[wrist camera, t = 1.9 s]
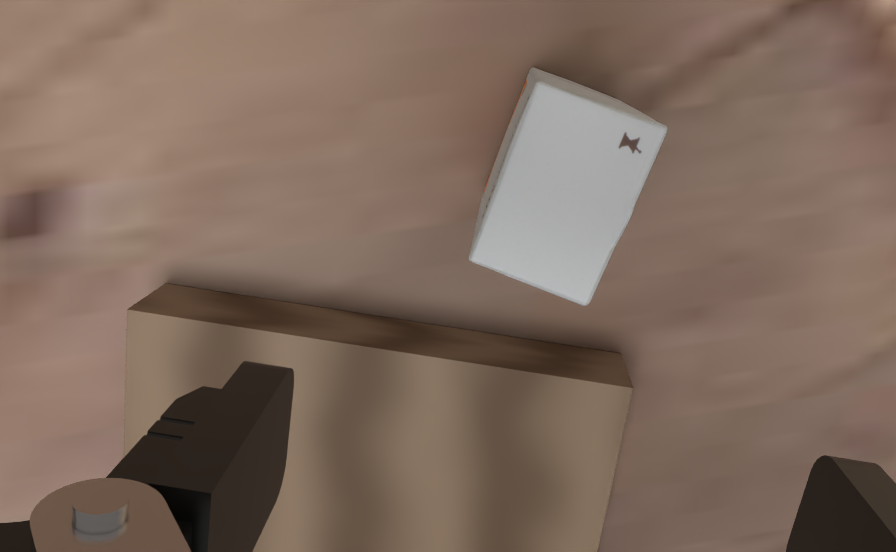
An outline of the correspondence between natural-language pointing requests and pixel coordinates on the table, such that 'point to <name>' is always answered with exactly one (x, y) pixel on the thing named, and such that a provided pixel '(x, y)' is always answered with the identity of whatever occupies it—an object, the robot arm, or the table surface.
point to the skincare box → (563, 186)
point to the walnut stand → (399, 423)
